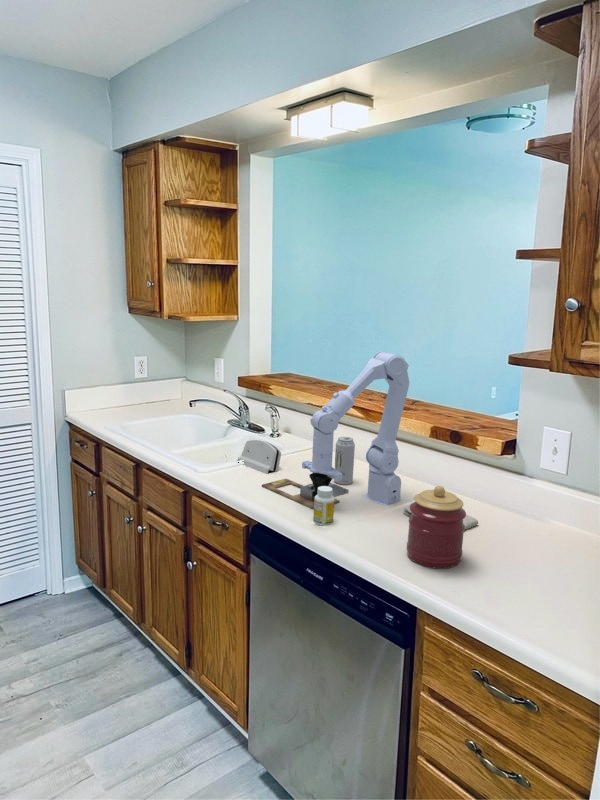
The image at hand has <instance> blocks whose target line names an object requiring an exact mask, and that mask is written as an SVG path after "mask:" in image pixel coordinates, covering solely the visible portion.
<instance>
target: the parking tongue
mask: <svg viewBox="0 0 600 800" xmlns="http://www.w3.org/2000/svg"><path fill="white" fill-rule="evenodd" d="M328 487H331V488H332V489H333V493H332V496H333V497H334V498H336V497H340V496H343V495H346V494H349V491H350V490H349V489H348V488H345V487H343V486H340V485H339V484H334V483H333V482H330V484H329V486H328Z"/></svg>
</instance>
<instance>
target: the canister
mask: <svg viewBox="0 0 600 800" xmlns="http://www.w3.org/2000/svg"><path fill="white" fill-rule="evenodd" d="M413 499H414V501H413V502H412V503H411V504H410V506H409V507H410V511H411V512H412V514H411V517H408V518H409V519H408V533H407V542H406V550H407V551H406V554H407V556H408V558H409V559H410V560H411V561H412V562H415V563H417V564H418V563H419V565H422V566H424V567H429V568H433V567H435V569H448V567H450V568H453V567H456V566H457V565H459V564H460V563H461V559H462V557H463V543H464V542H463V541H464V533H465V530H464V529H465V526H464V524H463V519H464V518H465V517H466V515H467V512H466V510H465V509H464V508H463V507H464V501H463V500H462V499H461V498H459V497H458V496H457V495H456V494H454V493H452V492H451V491H450V492H449V491H446V489H445V488H444V486H441V485H437V486H435V487H434V489H427V490H426V489H425V490H423V491H421V492H420V493H417V494H416V495H414V497H413ZM459 562H460V563H459ZM458 563H459V564H458ZM455 565H456V566H455ZM452 566H453V567H452Z"/></svg>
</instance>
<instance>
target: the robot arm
mask: <svg viewBox="0 0 600 800" xmlns="http://www.w3.org/2000/svg"><path fill="white" fill-rule="evenodd" d="M408 369H409V363H408V362H407V361H406V360H405V358H404V357H403V356H402V355H399V354H393V353H390V352H387V351H383V350H381V351H377V352H376V353H375V354H374V355H373V356H372V357H371V358H370V359H369V360H368V362H367V364H366V366H365V367H364V368H363V370H362V371H361V372H360V373H359V374H358V375H357V376H356V377H355V379H354V380H353V381H352V382H351V384H350V385H349V386H348V387H346V389H344V390H339V391H338V392H334V393H333V394H332V396H333V397H332V398H331V399H330V400H329V401H328V402H327V403H326V404H325V405H323V406H322V407H321V409H319V410H317V411H315V412H314V413H313V415H312V418H310V419H309V420H310V424H311V427H313V435H312V454H311V455H312V457H311V461H309V460H304V461H302V462H301V465H302V466H301V469H303V470H304V469H307V470H309V472H310V474H309V479H310V481H311V482H312V483H311V484H313V485H314V489H315V493H316V495H317V494H318V493H317V491H318V487H320V486H329V484H330V483H332V480H334V479H335V481H340V480H342V473H340V472H338V471H337V470H336V469H335V467H333V452H334V434H335V431H336V430H338V429H337V428H338V427H339V422H340V420H341V419H342V418H343V417H344V415H346V414H347V413H348V412H349V410H351V408H352V407H353V406H354V405H355V399H356V398H357V397H358V396H359V395H360V394H361V393H362V392H364V390H365V389H366V388H368V387H369V386H370V385H371V384H372V383H373V382H374V381H376V380H382V379H384V380H385V381H386V383H387V384H388V386H389V387H388V392H387V395H386V398H385V403H384V407H383V413H382V414H381V415H382V416H381V420H380V423H379V429H378V433H377V436H376V437H375V438H374V439H373V440H371V444H370V446H369V448H367V451H366V453H365V459H366V462H367V463H368V464H369V465H368V479H367V481H368V483H367V485H368V486H367V493H366V494H363V495H361V497H362V498H365V499H367V500H370V501H372V502H375V503H377V504H380V505H383V506H388V505H391V504H394V503H397V502H400V501H402V499H401V490H402V489H401V487H402V480H401V477H400V476H398V475H397V474H396V473H395V471H396V470H397V468H398V467H399V462H400V461H399V456H398V455H399V448H398V445H397V442H396V440H397V436H398V431H399V428H400V423H401V421H402V417H403V416H402V415H403V413H404V408H405V403H406V399H407V396H408V391H409V388H410V379H409V372H408ZM335 481H334V482H335Z"/></svg>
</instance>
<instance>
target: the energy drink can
mask: <svg viewBox="0 0 600 800" xmlns="http://www.w3.org/2000/svg"><path fill="white" fill-rule="evenodd" d="M355 447H356V444H355V442H354V439H353V437H349V436H340V437H338V438H337V441H336V442H335V454H334V456H335V457H334V469H336V470H337V471H338V472H340V473H342V480H340V481H335V479H333V482H334V483H336V485H343V486H347V485H351V484H352V483H353V481H354V480H353V479H354V467H355V466H354V465H355V464H354V463H355V449H356V448H355Z"/></svg>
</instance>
